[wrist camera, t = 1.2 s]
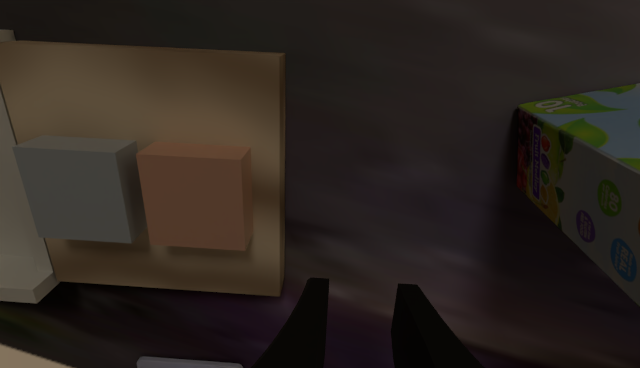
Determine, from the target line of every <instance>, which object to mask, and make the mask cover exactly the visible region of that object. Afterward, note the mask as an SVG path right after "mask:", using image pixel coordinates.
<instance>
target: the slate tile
mask: <svg viewBox="0 0 640 368" xmlns="http://www.w3.org/2000/svg"><path fill="white" fill-rule="evenodd" d="M12 149H13V152H14V155H15V159H16V162H17V165H18V169H19V172H20V176H21V179H22V182H23V186H24V189H25V192H26V196H27V199H28V203H29V206H30V209H31V213H32V216H33V219H34V223H35V226H36V230H37V233H38V236H39V237H41V238H56V239H72V240H87V241H102V242H117V243H133V241H134V240H135V239H136V238H137V237H138V236H139V235H140V234H141V233H142V232H143V231H144V230H145V229H146V228H147V221H146V214H145V208H144V202H143V196H142V190H141V183H140V177H139V171H138V165H137V159H136V153H138V149H137V142H136V141H135V140H118V139H100V138H82V137H64V136H47V135H42V136H39V137H37V138H34V139H31V140H29V141H26V142H24V143H21V144H18V145H16V146H13V147H12Z"/></svg>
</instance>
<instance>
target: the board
mask: <svg viewBox="0 0 640 368" xmlns="http://www.w3.org/2000/svg"><path fill="white" fill-rule="evenodd" d="M0 84H1V87H2V91H3V94H4V98H5V101H6V105H7V108H8V111H9V115H10V118H11V122H12V125H13V129H14V132H15V136H16V139H17V143H18V144H21V143H24V142H26V141H29V140H31V139H34V138H37V137H39V136H42V135H47V136H64V137H82V138H100V139H118V140H135V141H136V142H137V149H138V152H140V151H141V150H143V149H144V148H146V147H147V146H149V145H151V144H152V143H154V142H171V143H189V144H206V145H224V146H242V147H251V173H252V202H253V234H252V236H251V238H250V241H249V243H248V245H247V248H246V250H245V251H239V250H224V249H208V248H193V247H178V246H163V245H150V239H149V233H148V227H147V228H146V229H145V230H144V231H143V232H142V233H141V234H140V235H139V236H138V237H137V238H136V239H135V240H134V241H133V243H117V242H102V241H87V240H72V239H56V238H45V240H46V243H47V247H48V250H49V253H50V257H51V260H52V264H53V267H54V271H55V274H56V278H57V281H65V282H79V283H94V284H108V285H122V286H137V287H151V288H165V289H180V290H194V291H208V292H223V293H237V294H252V295H266V296H280V294H281V289H282V285H283V280H284V265H285V53H271V52H250V51H229V50H208V49H187V48H166V47H145V46H124V45H103V44H82V43H61V42H40V41H5V42H0Z"/></svg>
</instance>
